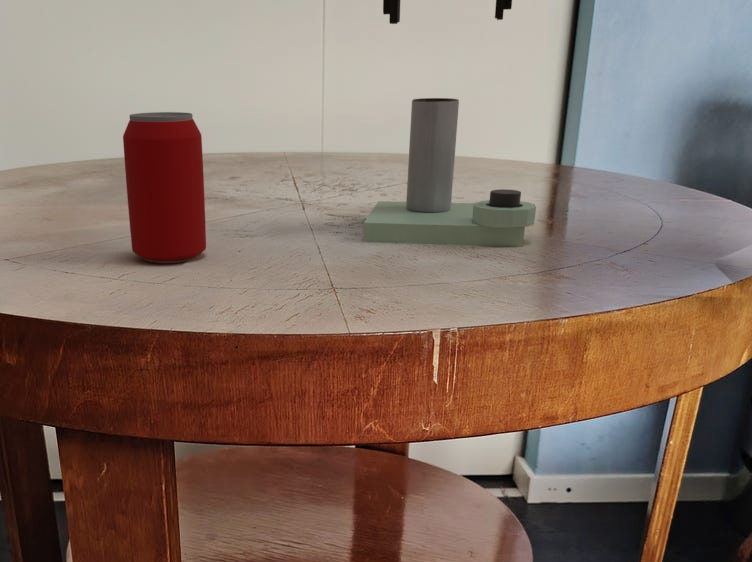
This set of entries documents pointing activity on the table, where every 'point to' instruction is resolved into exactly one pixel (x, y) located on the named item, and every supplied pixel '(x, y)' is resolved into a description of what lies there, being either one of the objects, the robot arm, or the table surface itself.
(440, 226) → the green flat block
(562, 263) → the table surface
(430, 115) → the grey cylinder
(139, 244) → the beverage can
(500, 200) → the button
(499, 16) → the robot arm
